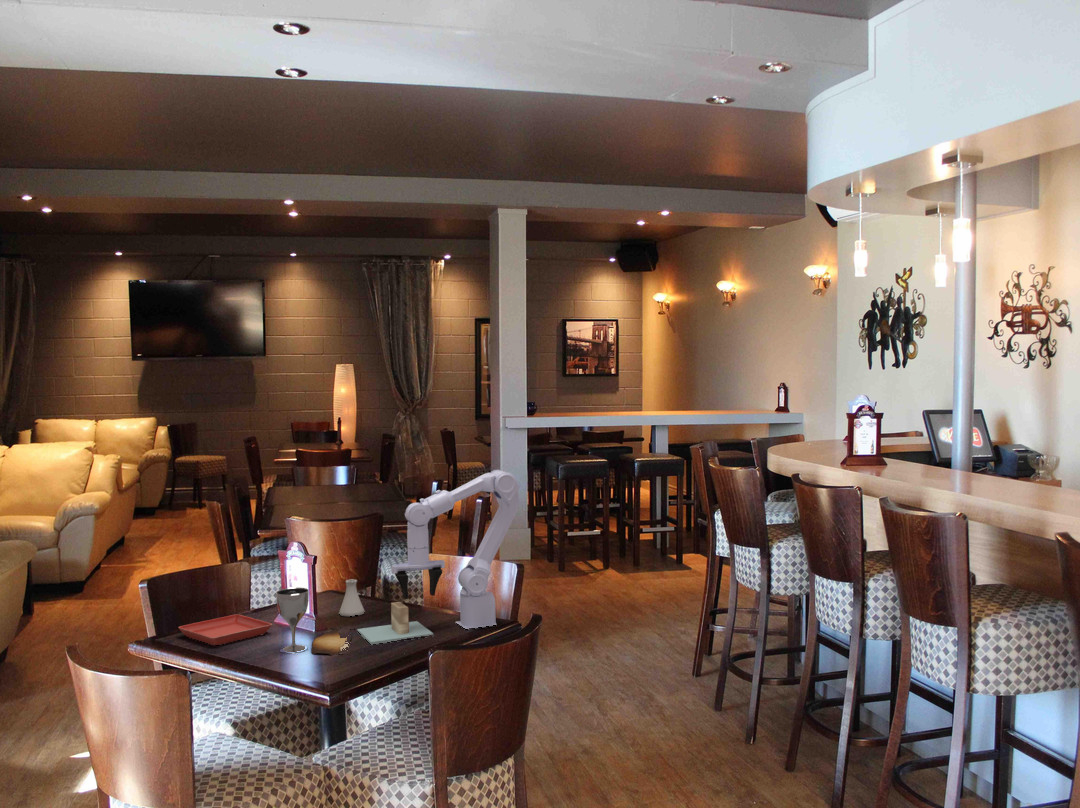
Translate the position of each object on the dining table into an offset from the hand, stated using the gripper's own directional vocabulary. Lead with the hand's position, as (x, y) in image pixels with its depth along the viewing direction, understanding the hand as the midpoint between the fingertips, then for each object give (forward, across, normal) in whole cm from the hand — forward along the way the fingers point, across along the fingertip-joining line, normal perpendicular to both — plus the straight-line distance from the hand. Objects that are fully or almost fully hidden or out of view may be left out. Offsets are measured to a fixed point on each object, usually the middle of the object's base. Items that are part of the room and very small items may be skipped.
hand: (419, 596), depth 242 cm
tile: (+8, +6, 0) cm, 10 cm away
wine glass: (+10, +34, +1) cm, 35 cm away
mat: (+9, +7, 0) cm, 12 cm away
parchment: (+10, +24, -1) cm, 26 cm away
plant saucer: (+10, +48, -21) cm, 53 cm away
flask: (+10, +12, -27) cm, 31 cm away
